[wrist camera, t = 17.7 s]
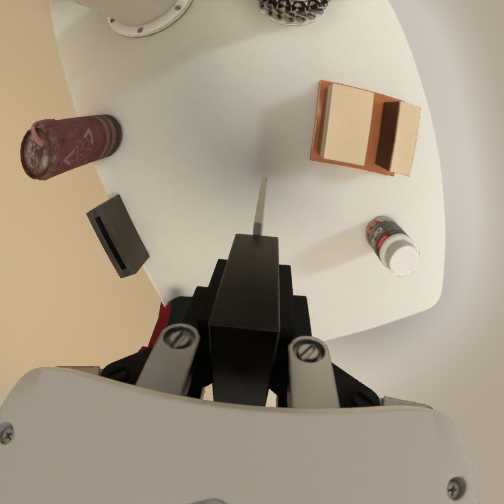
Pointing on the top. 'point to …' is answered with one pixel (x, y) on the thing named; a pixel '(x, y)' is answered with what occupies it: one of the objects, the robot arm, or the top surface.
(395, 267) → the pill bottle
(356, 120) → the slotted block stand
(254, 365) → the knife
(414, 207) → the top surface
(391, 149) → the slice
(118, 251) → the knife block
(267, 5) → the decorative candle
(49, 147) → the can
